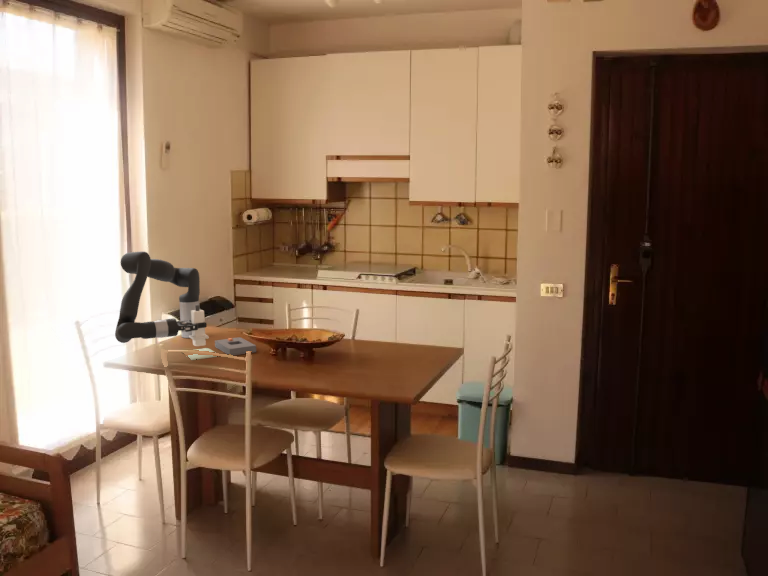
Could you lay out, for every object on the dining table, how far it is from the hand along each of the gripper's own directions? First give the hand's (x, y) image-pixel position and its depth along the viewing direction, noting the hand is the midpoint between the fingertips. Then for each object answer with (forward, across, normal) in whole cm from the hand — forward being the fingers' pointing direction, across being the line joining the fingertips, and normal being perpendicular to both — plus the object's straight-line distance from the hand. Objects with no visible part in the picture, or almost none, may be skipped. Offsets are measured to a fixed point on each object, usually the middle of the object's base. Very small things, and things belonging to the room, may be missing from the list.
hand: (204, 323), depth 337 cm
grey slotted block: (+13, 0, +13) cm, 19 cm away
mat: (-3, 0, +13) cm, 14 cm away
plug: (-3, 0, +9) cm, 9 cm away
